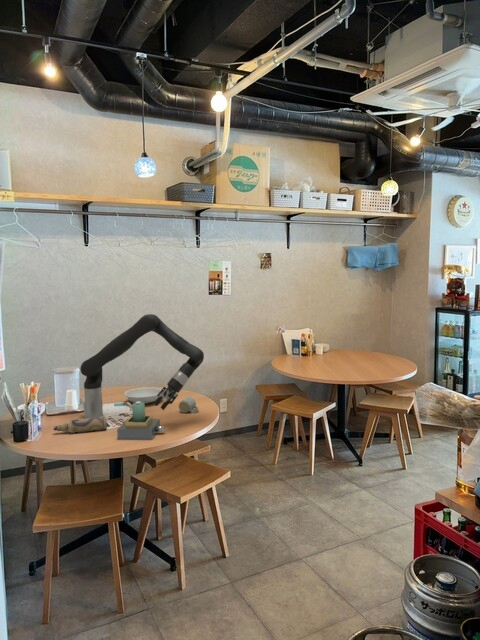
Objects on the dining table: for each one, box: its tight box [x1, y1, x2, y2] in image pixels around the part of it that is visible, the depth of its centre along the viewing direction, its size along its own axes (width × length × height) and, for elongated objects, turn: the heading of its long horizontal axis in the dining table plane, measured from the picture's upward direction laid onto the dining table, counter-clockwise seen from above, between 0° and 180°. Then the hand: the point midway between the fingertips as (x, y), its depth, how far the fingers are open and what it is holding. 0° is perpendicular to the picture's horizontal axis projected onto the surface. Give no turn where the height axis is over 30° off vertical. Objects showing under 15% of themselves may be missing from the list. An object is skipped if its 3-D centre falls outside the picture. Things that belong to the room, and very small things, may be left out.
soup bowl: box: [123, 386, 163, 404], centre depth 288 cm, size 24×24×7 cm
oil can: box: [126, 401, 146, 422], centre depth 230 cm, size 9×6×12 cm
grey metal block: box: [116, 415, 166, 440], centre depth 232 cm, size 21×16×8 cm
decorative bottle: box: [53, 415, 108, 434], centre depth 238 cm, size 26×8×7 cm, turn 105°
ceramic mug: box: [178, 396, 199, 414], centre depth 267 cm, size 11×8×8 cm
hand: (158, 406), depth 237 cm, fingers open, 8 cm apart
